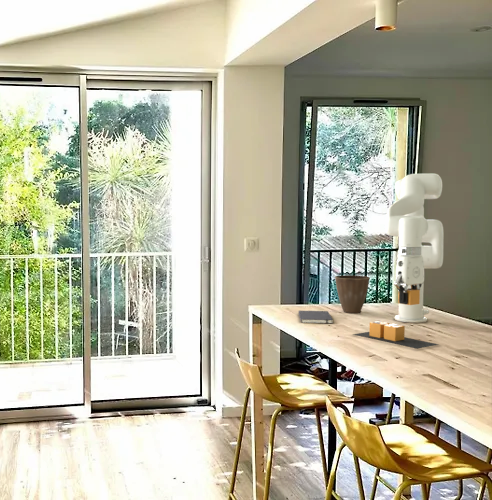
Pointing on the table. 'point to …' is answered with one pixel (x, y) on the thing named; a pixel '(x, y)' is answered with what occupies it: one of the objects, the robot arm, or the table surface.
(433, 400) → the table surface
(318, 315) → the notebook
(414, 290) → the letter T
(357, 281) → the flower pot
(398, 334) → the letter I
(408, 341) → the word mat
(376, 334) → the letter L
